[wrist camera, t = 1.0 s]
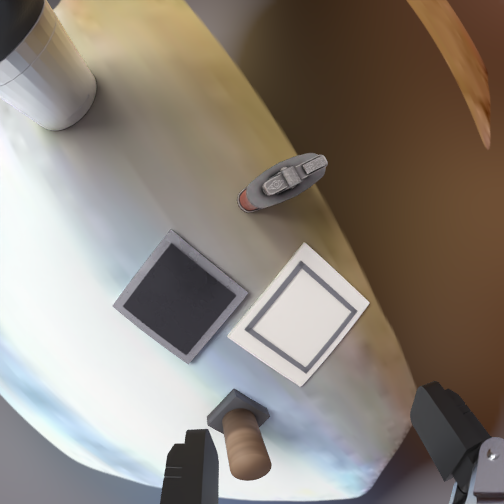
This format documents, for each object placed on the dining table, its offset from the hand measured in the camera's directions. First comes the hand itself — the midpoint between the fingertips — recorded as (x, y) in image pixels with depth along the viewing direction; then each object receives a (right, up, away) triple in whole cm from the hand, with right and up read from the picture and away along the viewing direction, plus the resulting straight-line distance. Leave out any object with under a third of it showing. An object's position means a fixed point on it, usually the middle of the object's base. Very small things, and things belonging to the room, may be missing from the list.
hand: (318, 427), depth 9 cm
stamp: (-4, -15, +26) cm, 30 cm away
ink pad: (-11, +1, +24) cm, 26 cm away
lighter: (0, +13, +25) cm, 28 cm away
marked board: (+4, -2, +26) cm, 27 cm away
